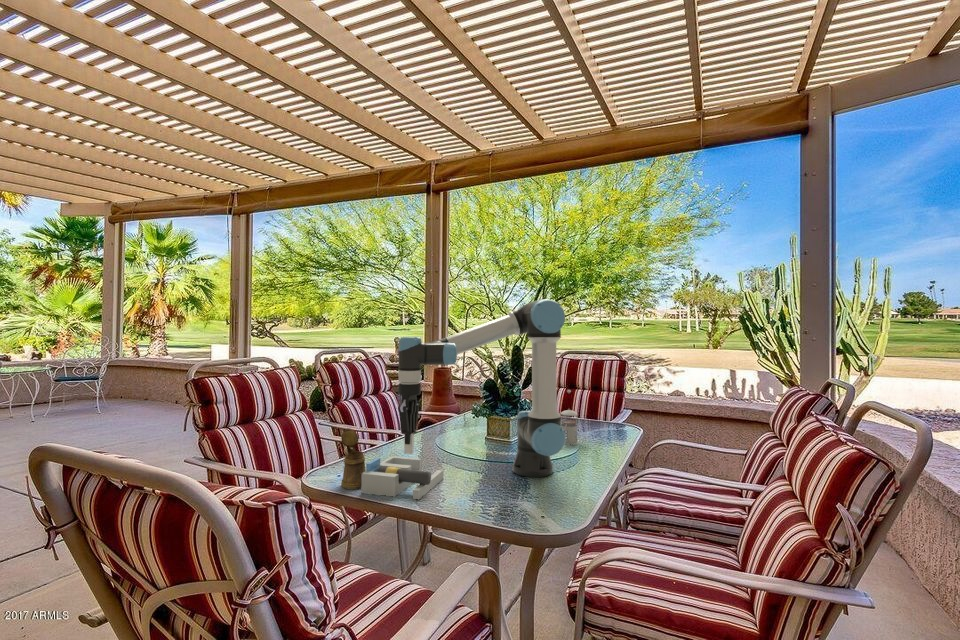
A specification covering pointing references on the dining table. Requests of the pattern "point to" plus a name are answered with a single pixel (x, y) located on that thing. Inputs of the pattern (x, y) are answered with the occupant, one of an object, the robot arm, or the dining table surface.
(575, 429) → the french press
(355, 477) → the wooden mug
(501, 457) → the dining table surface
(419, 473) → the rod
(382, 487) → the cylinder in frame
